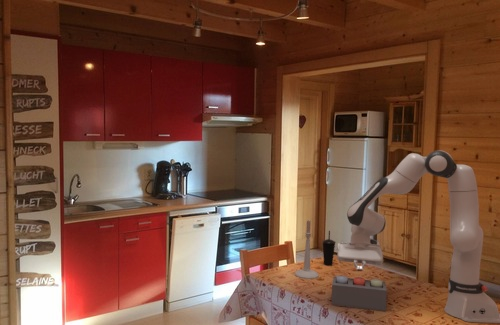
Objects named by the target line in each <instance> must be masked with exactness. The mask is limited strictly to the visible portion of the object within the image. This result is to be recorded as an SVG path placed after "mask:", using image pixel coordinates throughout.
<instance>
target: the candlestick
mask: <svg viewBox="0 0 500 325" xmlns="http://www.w3.org/2000/svg"><path fill="white" fill-rule="evenodd" d="M304 234H305V238H306V239H305V247H304V248H305V250H304V260H303V268H302V269H298V270H296V271H295V272H294V276H295V277H297V278H299V279H304V280H313V279H317V278H319V273H318V272H317V271H315V270H313V269H311V243H310V242H311V239H310V237H311V235H312V232H311V220H308V219H307V220H306V231H305V232H304Z"/></svg>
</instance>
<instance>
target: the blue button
mask: <svg viewBox="0 0 500 325" xmlns="http://www.w3.org/2000/svg"><path fill="white" fill-rule="evenodd" d="M336 277H337V280H336V283H342V284H347V278H348V276H345V275H336Z"/></svg>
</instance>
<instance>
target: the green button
mask: <svg viewBox="0 0 500 325" xmlns="http://www.w3.org/2000/svg"><path fill="white" fill-rule="evenodd" d="M370 280H371V287H380V288H382V282H383V280H381V279H379V278H372V279H370Z"/></svg>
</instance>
